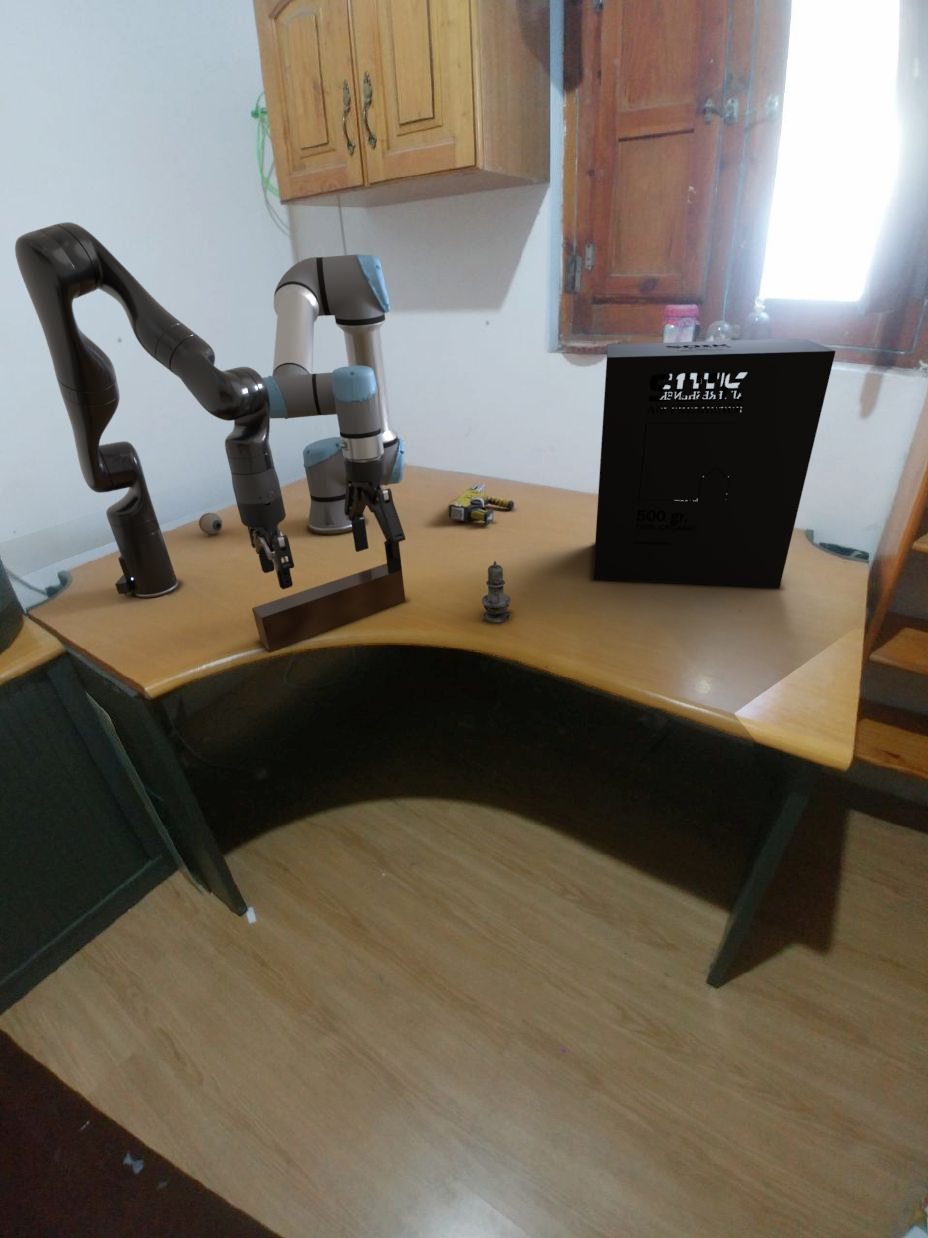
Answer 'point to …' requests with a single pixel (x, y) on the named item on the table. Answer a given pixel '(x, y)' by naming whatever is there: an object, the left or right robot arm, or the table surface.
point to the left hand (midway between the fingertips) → (277, 579)
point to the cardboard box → (706, 459)
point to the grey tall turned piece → (496, 596)
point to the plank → (327, 606)
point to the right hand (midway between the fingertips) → (378, 560)
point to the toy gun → (475, 505)
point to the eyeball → (210, 523)
